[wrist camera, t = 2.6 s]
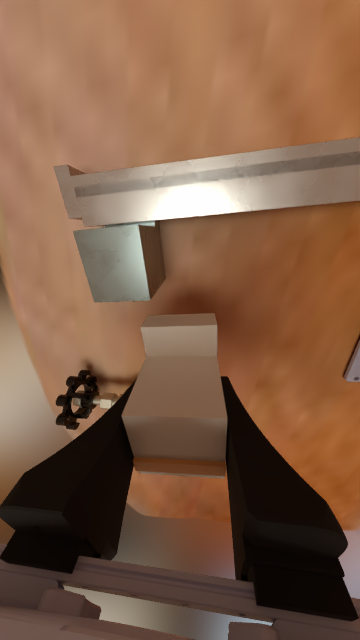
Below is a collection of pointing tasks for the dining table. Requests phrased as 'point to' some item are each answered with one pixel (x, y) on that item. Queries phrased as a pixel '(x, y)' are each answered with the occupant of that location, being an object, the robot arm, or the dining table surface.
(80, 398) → the valve
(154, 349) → the block
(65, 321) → the dining table surface
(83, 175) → the rail
